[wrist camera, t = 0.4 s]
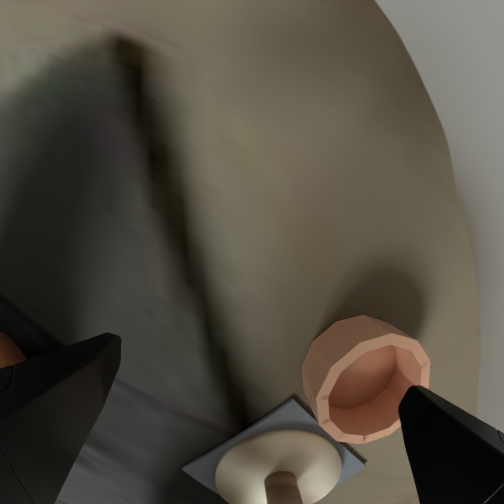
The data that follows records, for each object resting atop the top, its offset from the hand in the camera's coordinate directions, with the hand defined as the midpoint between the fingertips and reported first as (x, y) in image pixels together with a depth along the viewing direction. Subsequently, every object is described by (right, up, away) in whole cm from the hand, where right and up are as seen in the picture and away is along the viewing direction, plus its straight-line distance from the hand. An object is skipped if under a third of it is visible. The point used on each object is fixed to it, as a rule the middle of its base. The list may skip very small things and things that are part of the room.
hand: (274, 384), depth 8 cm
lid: (+2, -17, +16) cm, 24 cm away
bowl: (+8, -6, +16) cm, 19 cm away
